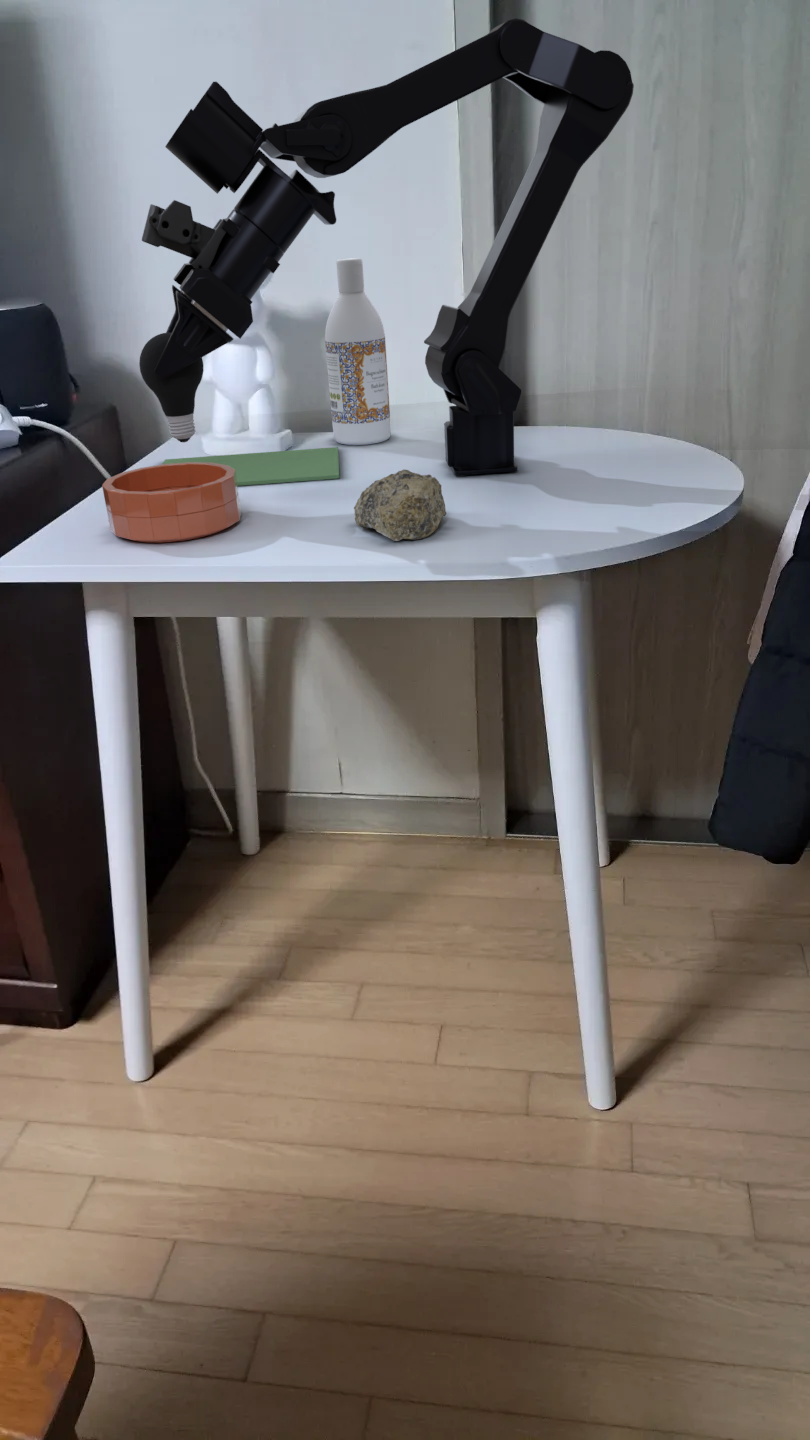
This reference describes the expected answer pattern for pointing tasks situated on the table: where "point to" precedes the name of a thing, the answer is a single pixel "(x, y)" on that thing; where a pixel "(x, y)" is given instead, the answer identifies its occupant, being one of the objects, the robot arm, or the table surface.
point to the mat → (277, 465)
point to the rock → (402, 506)
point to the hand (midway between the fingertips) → (157, 371)
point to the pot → (172, 501)
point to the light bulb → (172, 388)
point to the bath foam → (356, 362)
